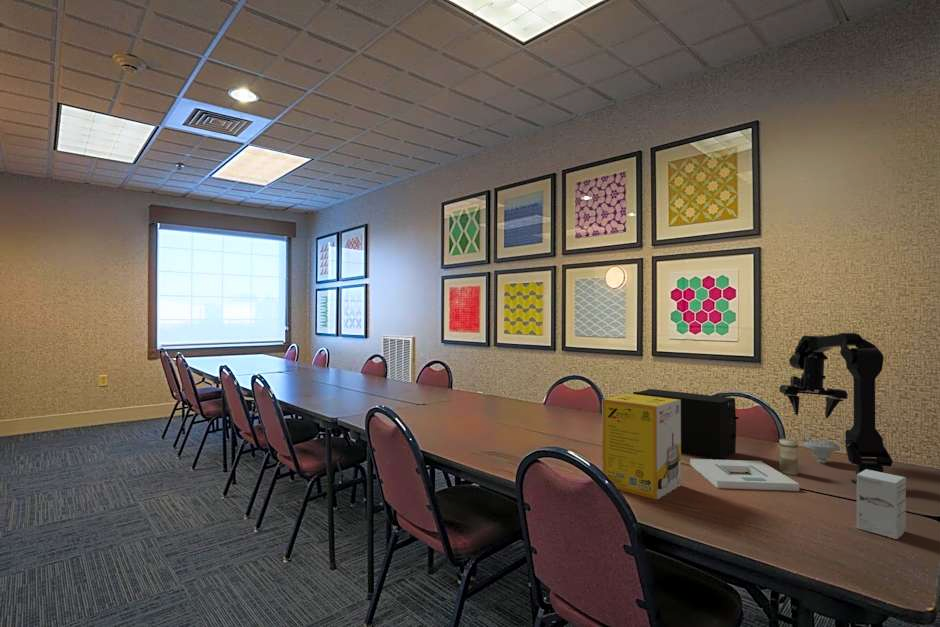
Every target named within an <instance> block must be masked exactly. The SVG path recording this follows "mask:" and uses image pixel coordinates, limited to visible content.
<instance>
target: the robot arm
mask: <svg viewBox="0 0 940 627" xmlns="http://www.w3.org/2000/svg"><path fill="white" fill-rule="evenodd" d="M849 347H853V348H849ZM831 348H840V350H839V355H841V357H842V358H843V360H845V364H846V369H847V370H848V372H849V373H850V375H851V376H852V377H853V425H852V427H851V428H850V429H845V430H846V431H845V432H844V433H845V440H844V443H845V449H846V455H847V459H848V462H850V463H851V464H853V465H855V477H856V478H855V479H853V478H852V479H850V481H851V482H852V483H854V484H856V485H857V474H859V473H860V472H862V471H864V470H866V469H868V470H873V471H878V472H882V473H885V472H884V470H885V468H884V467H890V468H891V467H892V465H893V462H894V461H893V458H892V457H891V456H890V454H889V452H888V450H887V448H886V447H885V445H884V440H883V437H882V435H881V434H880V432H879V431H878V430H877V428H876V379H877V377H879V375H880V374H881V372H882V371H883V366H884V358H885V356H884V355H883V353H882V352H881V351H880V349H879V348H878V347H877V346H876V344H873V343H872V342H870V341H868V340H866V339H865V338H864V337H862V336H861V334H859V333H856V332H841V333H838V334H832V335H831V334H830V335H803V336H801V339H799V342H798V344H797V346H796V347H795V349H794V354H792V355H791V356H790V358H789V365H790V367H791V368H793V369H797V370H802V371H803V372H802V373H801V377H799V376H796V375H795V376H794V375H792V376H790V380H789V382H790V384H781V385H780V386H779V390H778V391H779V393H780V394H783V395H784V396H785V397H787V398H788V400H789V401H790V403H791V406H792V410H793V411H794V412H793V413H794V415H795V416H799V410H800V396H799V395H798V394H806V395H818V396H824V397H825V401H826V402H825V411H824V415H825V416H824V417H825V419H829V418H830V416H831V414H832V413H833V411H834V410H835V408H836V407H837V405H838V404H839V403H840V402H843V401H844V400H848V396H849V395H848V391H846V390H844V389H840V388H830V387H828V388H825V387H824V380H825V379H826V375H824V374H825V360H828V359H829V358H828V356H827V355H825V353H824V352H827V351H829V350H830V349H831Z"/></svg>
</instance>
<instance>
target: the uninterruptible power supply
mask: <svg viewBox="0 0 940 627" xmlns="http://www.w3.org/2000/svg"><path fill="white" fill-rule="evenodd" d="M632 394H636V395H645V396H653V397H662V398H670V399H679V400H681V454H683V453H686V454H685V455H688V454H691V455H690V456H693V455H696V456H695V457H698V456H701V457H700V458H703V457H706V458H705V459H708V458H711V459H716V460H723V459H724V460H726V459H728V458H729V457H731V456H733V455H735V454H736V446H737V444H736V443H737V441H736V439H737V420H739V418H740V417H738V416H736V414H737V412H736V398H735V397H728V396H727V397H726V396H718V395H710V394H709V395H708V394H702V393H701V394H699V393H691V392H682V391H681V392H680V391H675V390H673V391H672V390H663V389H655V388H654V389H653V388H648V389H646V390H641V391H633V392H632ZM734 453H735V454H734ZM732 454H733V455H732ZM730 455H731V456H730ZM728 456H729V457H728ZM727 457H728V458H727ZM725 458H726V459H725Z"/></svg>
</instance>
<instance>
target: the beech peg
mask: <svg viewBox="0 0 940 627" xmlns="http://www.w3.org/2000/svg"><path fill="white" fill-rule="evenodd" d="M778 444H779V445H778V446H779V447H778V448H779V449H778V450H779V452H778V454H779V455H778V456H779V457H778V458H779V459H778V462H779V468H778V470H779V471H778V472H780V473H781V472H782V474H783V473H785V474H784V475H788V474H791V475H790V476H797V475H798V473H799V471H798V467H799V464H798V459H799V458H798V455H799V454H798V453H799V452H798V451H799V450H798V447H799V446H798V445H799V444H798V441H797V440H795V439H794V440H793V439H790V438H789V439H788V438H780V439H778Z"/></svg>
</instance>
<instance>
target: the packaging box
mask: <svg viewBox="0 0 940 627" xmlns="http://www.w3.org/2000/svg"><path fill="white" fill-rule="evenodd" d="M601 441H602V442H601V453H602V454H601V455H602V456H601V462H602V463H601V473H602V472H604V473H605V474H606V475H607V476H608V477H609V479H610V480H611V481H612V482H613V483H614V484H615V485H616V486H617V487H618V488H619V489H620V490H619V491H622V492H627V493H629V492H630V493H629V494H633V495H638V496H641V497H644V498H647V497H648V499H651V498H652V500H655V499H656V501H657V499H658V500H659V499H661V498H663V497H664V496H666V495H667V493H668V494H669V493H671V492H673V491H674V490H676V489H678V488H679V487H681V486H682V453H681V400H679V399H670V398H662V397H653V396H645V395H636V394H633V393H625V394H620V395H615V396H611V397H607V398H602V400H601ZM677 487H678V488H677ZM672 490H673V491H672ZM662 496H663V497H662Z"/></svg>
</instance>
